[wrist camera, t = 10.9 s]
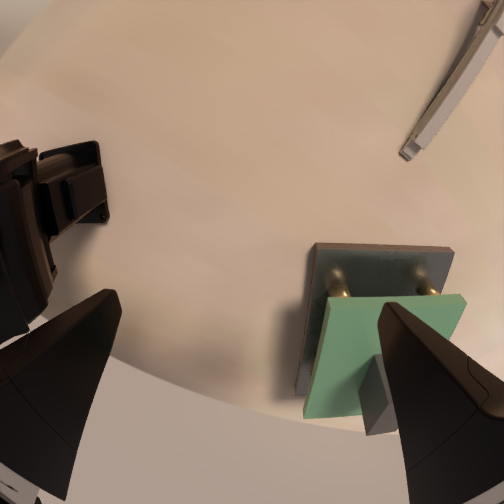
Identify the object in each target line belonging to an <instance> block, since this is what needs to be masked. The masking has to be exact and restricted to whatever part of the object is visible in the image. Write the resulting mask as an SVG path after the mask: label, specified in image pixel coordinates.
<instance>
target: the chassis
mask: <svg viewBox="0 0 504 504" xmlns="http://www.w3.org/2000/svg"><path fill="white" fill-rule="evenodd" d="M454 254H455V252H454V251H453V250H452V249H451V248H450V247H433V246H406V245H377V244H345V243H316V246H315V256H314V265H313V273H312V282H311V290H310V298H309V305H308V312H307V319H306V326H305V333H304V339H303V346H302V352H301V358H300V364H299V370H298V375H297V381H296V386H295V396H305V395H307V391H308V387H309V383H310V379H311V375H312V371H313V367H314V362H315V358H316V354H317V349H318V344H319V340H320V335H321V330H322V325H323V320H324V315H325V310H326V304H327V299H328V297H397V296H426V295H440V294H441V292H442V289H443V286H444V284H445V281H446V278H447V275H448V272H449V269H450V266H451V263H452V260H453V257H454Z"/></svg>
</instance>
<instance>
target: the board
mask: <svg viewBox="0 0 504 504" xmlns="http://www.w3.org/2000/svg"><path fill="white" fill-rule="evenodd" d="M385 302H397V303H399V304H400V305H402V306H403V307H404V308H406V309H407V310H408V311H410V312H411V313H413V314H414V315H415V316H417V317H418V318H419V319H421V320H422V321H423V322H425V323H426V324H427V325H429V326H430V327H431V328H433V329H434V330H435V331H437V332H438V333H439V334H441V335H442V336H443V337H445V338H446V339H447V340H449V339H450V337H451V335H452V334H453V332H454V330H455V328H456V326H457V324H458V322H459V320H460V317H461V315H462V313H463V311H464V309H465V307H466V304H467V302H466V301H465V300H464V298H463V297H462V296H461V294H448V295H426V296H397V297H328V299H327V304H326V310H325V315H324V320H323V325H322V330H321V335H320V340H319V344H318V349H317V354H316V358H315V362H314V367H313V371H312V375H311V379H310V383H309V387H308V391H307V395H306V399H305V403H304V406H303V419H311V418H331V417H344V416H355V415H363V420H364V426H365V431H366V436H369V435H376V434H382V433H388V432H394V431H396V430H397V429H398V424H397V419H396V414H395V410H394V405H393V401H392V397H391V392H390V388H389V384H388V380H387V376H386V372H385V368H384V364H383V358H382V352H381V346H380V340H379V334H378V328H377V322H378V318H379V316H380V313H381V310H382V307H383V305H384V303H385Z"/></svg>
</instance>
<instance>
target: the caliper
mask: <svg viewBox="0 0 504 504" xmlns="http://www.w3.org/2000/svg"><path fill="white" fill-rule="evenodd" d="M481 1H482V2H483V3H484V4H485V5H486V6H487V7H488V8H489V10H488V11H487V12H486V13H485V14H484V17H483V19H482V20H481V21H480V22H479V24H478V25H479V26H480V27H481V29H480V31H479V32H478V34H477V36H476V37H475V39H474V41H473V42H472V44H471V45H470V47H469V48H468V50H467V52H466V53H465V55H464V56H463V58H462V59H461V61H460V62H459V64H458V65H457V67H456V69H455V70H454V72H453V73H452V74H451V76H450V77H449V79H448V80H447V82H446V83H445V85H444V86H443V88H442V89H441V90H440V92H439V93H438V95H437V96H436V98H435V99H434V100H433V102H432V103H431V105H430V106H429V107H428V109H427V110H426V112H425V113H424V114H423V116H422V117H421V118H420V120H419V121H418V123H417V125H416V126H415V128H414V130H413V131H412V133H411V135H410V136H409V140H408V141H407V142H406V144H405V145H404V146H403V148H402V149H401V151H400V154H402V155H403V156H404V157H405V158H406V159H408V160H409V161H411V159H413V158H414V157H415V156H416V155H417V153H418V152H419V151H420V149H421V148H422V149H423V150H425V148H426V147H427V146H428V145H429V143H430V142H431V141H432V139H433V138H434V137H435V135H436V134H437V133H438V131H439V130H440V128H441V127H442V126H443V124H444V123H445V122H446V120H447V119H448V117H449V116H450V115H451V113H452V112H453V110H454V109H455V108H456V106H457V105H458V103H459V102H460V100H461V99H462V97H463V96H464V95H465V93H466V92H467V90H468V89H469V87H470V86H471V84H472V83H473V81H474V79H475V78H476V76H477V75H478V73H479V72H480V70H481V69H482V67H483V65H484V64H485V62H486V60H487V59H488V57H489V56H490V54H491V52H492V51H493V49H494V47H495V45H496V44H497V42H498V40H499V39H500V37H501V36H503V35H504V0H481Z"/></svg>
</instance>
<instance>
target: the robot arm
mask: <svg viewBox="0 0 504 504" xmlns="http://www.w3.org/2000/svg"><path fill="white" fill-rule="evenodd" d="M91 145H93V147H94V149H93V150H92V148H91ZM36 157H38V152H37V148H33V149H29V147H25V146H24V147H23V145H22V144H21V143H20V141H19V140H13V141H10V142H6V143H3V144H0V345H1V344H2V343H3V342H5V341H7V340H9V339H11V338H12V337H14V336H18V335H21V334H25V333H27V332H29V330H30V329H29V327H28V324H30V323H31V322H32V321H33V320H35V319H36V318H37V317H38V316H39V315H40V314H41V313H42V312H43V311H44V310H45V309H46V307H47V306H48V300H47V299H48V298H49V295H50V293H51V291H52V289H53V282H54V279H55V277H56V275H57V269H56V266H55V265H54V262H53V258H52V254H51V250H50V246H49V244H50V243H51V242H52V241H54V240H55V239H56V238H57V237H59V236H60V235H61V234H63V233H64V232H65V231H66V230H68V229H69V228H70V227H72V226H73V225H74V224H77V223H104V222H106V221H107V220H108V219H109V210H108V205H107V195H106V189H105V182H104V175H103V168H102V166H101V158H100V150H99V144H98V142H97V141H95V140H92V141H87V142H83V143H78V144H73V145H69V146H65V147H60V148H56V149H52V150H48V151H45V152H42V153H40V155H39V161H38V162H37V160H36ZM44 157H45V159H44ZM102 214H103V215H104V217H102ZM121 315H122V308H121V305H120V301H119V298H118V294H117V292H116V291H115V290H113V289H103V290H101V291H100V292H98V293H96V294H94V295H93V296H91V297H89V298H87V299H86V300H84V301H82V302H80V303H79V304H77V305H75V306H73V307H72V308H70V309H68V310H66V311H65V312H63V313H61V314H60V315H58V316H56V317H55V318H53V319H51V320H49V321H48V322H46V323H44V324H43V325H41V326H39V327H38V328H36V329H34V330H33V331H31V332H30V334H29V333H28V334H26V335H25V336H23V337H21V338H20V339H18V340H16V341H15V342H13V343H11V344H9V345H8V346H6V347H4V348H2V349H0V504H42V503H41V501H40V498H39V497H37V494H38V491H39V488H41V489H42V490H44V491H46V492H48V493H50V494H51V495H53V496H55V497H57V498H59V499H61V500H63V501H65V500H66V496H67V491H68V487H69V482H70V478H71V474H72V470H73V466H74V462H75V458H76V454H77V450H78V447H79V443H80V440H81V436H82V433H83V430H84V426H85V423H86V420H87V417H88V414H89V410H90V407H91V404H92V402H93V399H94V396H95V393H96V390H97V387H98V384H99V381H100V379H101V376H102V373H103V371H104V368H105V365H106V363H107V360H108V357H109V355H110V352H111V349H112V346H113V342H114V339H115V335H116V332H117V328H118V325H119V322H120V318H121ZM377 328H378V334H379V340H380V346H381V352H382V358H383V364H384V368H385V372H386V376H387V380H388V384H389V388H390V392H391V397H392V401H393V405H394V410H395V414H396V419H397V424H398V429H399V434H400V439H401V445H402V451H403V456H404V462H405V469H406V477H407V485H408V493H409V501H410V504H504V382H503V381H502V380H500V379H499V378H498V377H496V376H495V375H493V374H492V373H490V372H489V371H488V370H486V369H485V368H483V367H482V366H481V365H480V364H478V363H477V362H476V361H474V360H473V359H472V358H471V357H469V356H467V354H465V353H464V352H463V351H462V350H460V349H459V348H458V347H456V346H455V345H454V344H453V343H451V342H450V341H449V340H447V339H446V338H445V337H443V336H442V335H441V334H439V333H438V332H437V331H435V330H434V329H433V328H431V327H430V326H429V325H427V324H426V323H425V322H423V321H422V320H421V319H419V318H418V317H417V316H415V315H414V314H413V313H411V312H410V311H408V310H407V309H406V308H404V307H403V306H402V305H400V304H399V303H397V302H385V303H384V305H383V307H382V310H381V313H380V316H379V318H378V322H377Z"/></svg>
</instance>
